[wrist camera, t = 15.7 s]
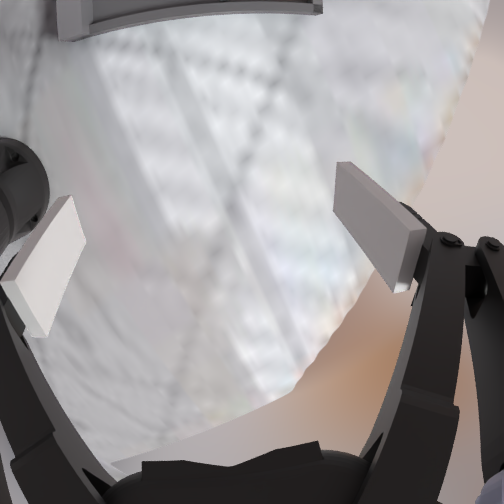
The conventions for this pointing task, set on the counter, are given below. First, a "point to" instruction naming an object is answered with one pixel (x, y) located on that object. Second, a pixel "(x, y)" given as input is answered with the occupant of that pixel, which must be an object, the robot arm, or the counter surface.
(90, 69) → the counter surface
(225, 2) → the grey tray
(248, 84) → the counter surface
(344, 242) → the counter surface
